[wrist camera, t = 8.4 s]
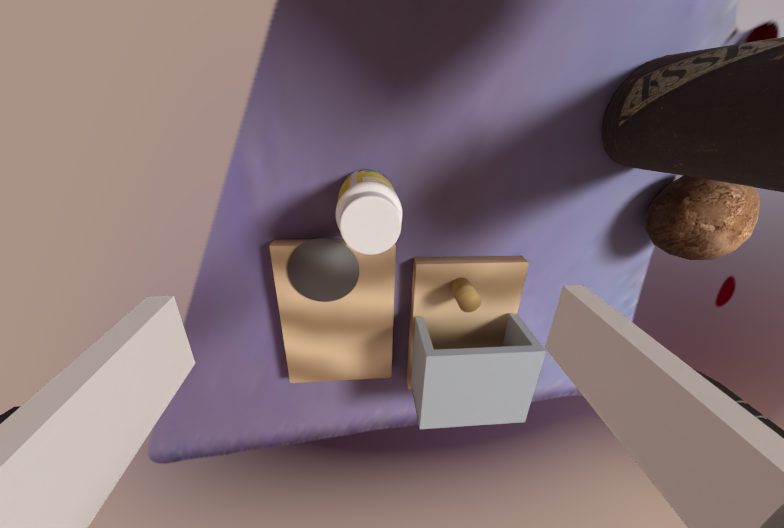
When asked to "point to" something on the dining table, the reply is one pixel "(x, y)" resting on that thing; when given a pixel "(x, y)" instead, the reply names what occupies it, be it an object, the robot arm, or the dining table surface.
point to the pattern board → (447, 310)
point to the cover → (475, 379)
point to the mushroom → (702, 217)
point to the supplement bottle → (368, 212)
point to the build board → (334, 309)
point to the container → (704, 115)
